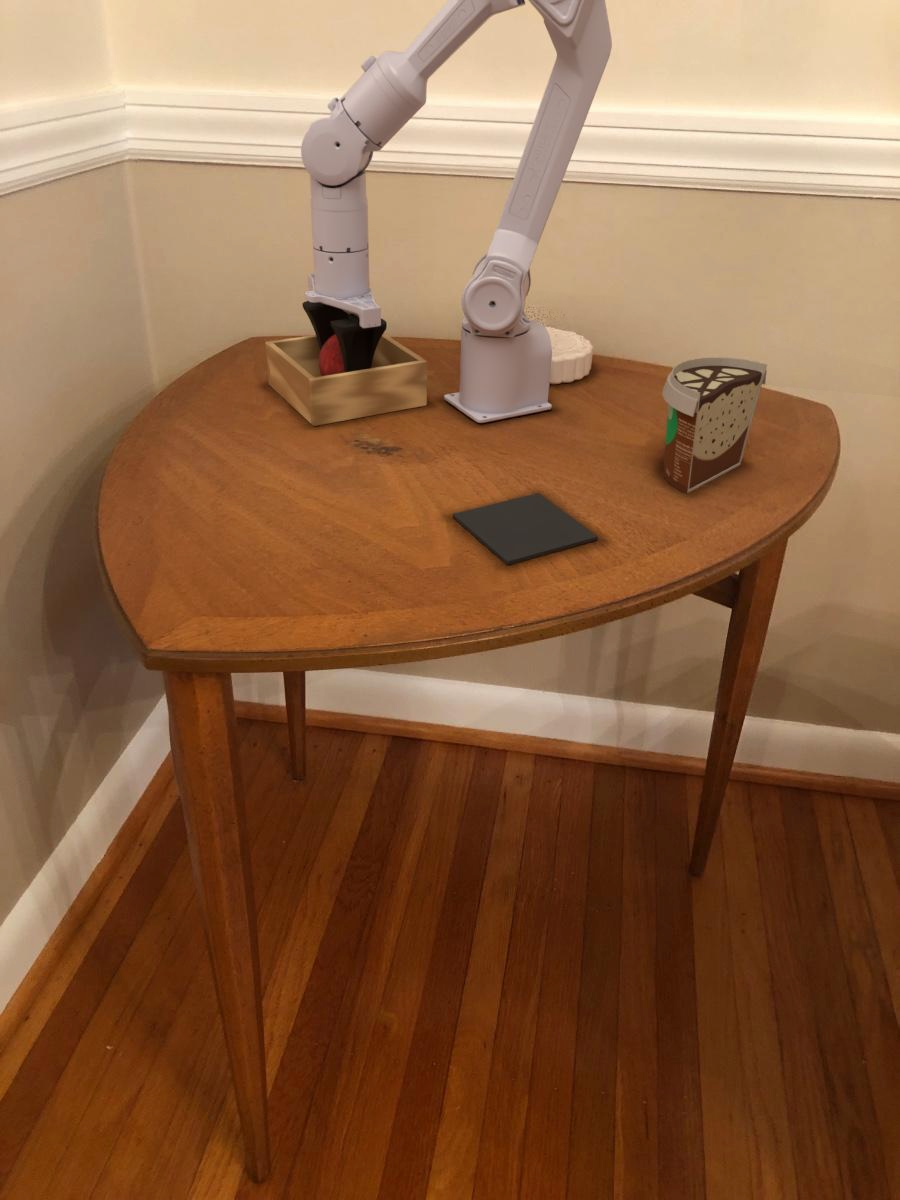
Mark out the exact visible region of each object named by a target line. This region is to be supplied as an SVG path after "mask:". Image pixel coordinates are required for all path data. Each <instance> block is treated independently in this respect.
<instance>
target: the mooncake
mask: <svg viewBox="0 0 900 1200" xmlns="http://www.w3.org/2000/svg"><path fill="white" fill-rule="evenodd" d="M544 327H545V328H546V329H547V331H548V333H549V336H550V340H551V345H552V360H551V371H550V383H549V385H559V384H570V383H573V382H574V381H580V380H582V379H584V377H587V376H588V375H589V374H590V371H591V370H592V363H593V362H592V361H593V353H594V346H593V345H592V343H591V341H590V340H589V339H588V338H587V339H586V338H585V337H584V335H581V334H577V332H575V331H570V330H563V329H559V328H556V327H555V328H554V327H550V326H544Z"/></svg>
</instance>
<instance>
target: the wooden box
mask: <svg viewBox="0 0 900 1200" xmlns="http://www.w3.org/2000/svg"><path fill="white" fill-rule="evenodd" d="M264 344H265V355H266V357H265V358H266V366H267V378H268V379H267V380H268V386H270V387H271V388H272V389H273V390H274V391H275V392H276V393H277V394H278V395H279V396H280V397H281V398H282V399H284V400H285V401H286V402H287V403H288V404H289V405H290V406H291V407H292V408H293V409H294V410H295V411H297V412H298V414H300V415H301V416H302V417H303V418H304V419H305V420H306V421H307V422H308V423H309V424H310V425H312V426H313V427H317V426H324V425H329V424H335V423H339V422H345V421H350V420H354V419H361V418H367V417H372V416H377V415H383V414H388V413H392V412H398V411H404V410H411V409H414V408H420V407H426V406H427V404H428V361H427V360H426V359H424V358H423V357H421V356H420V355H418V354H417V353H415V352H414V351H412V350H410V349H409V348H407V347H406V346H404V345H403V344H401V343H400V342H398V341H396V340H395V339H393V338H392V337H391V336H389V335H387V334H386V333H385V332H384V333H383V335H382V337H381V338H380V340H379V343H378V345H377V347H376V350H375V353H374V357H373V361H372V368H370V369H364V370H358V371H352V372H346V373H340V374H333V375H327V376H322V375H321V373H320V368H319V355H320V352H321V351H320V347H319V344H318V340H317V337H316V334H312V335H304V336H297V337H292V338H291V337H290V338H282V339H276V340H270V341H269V340H268V341H265V342H264Z"/></svg>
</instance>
